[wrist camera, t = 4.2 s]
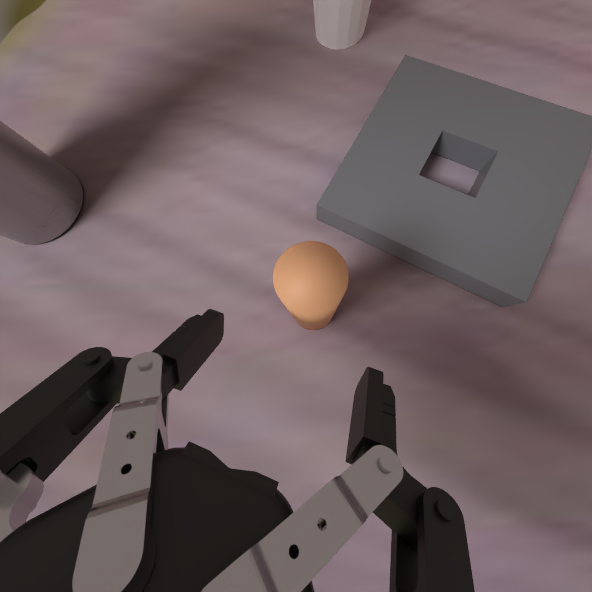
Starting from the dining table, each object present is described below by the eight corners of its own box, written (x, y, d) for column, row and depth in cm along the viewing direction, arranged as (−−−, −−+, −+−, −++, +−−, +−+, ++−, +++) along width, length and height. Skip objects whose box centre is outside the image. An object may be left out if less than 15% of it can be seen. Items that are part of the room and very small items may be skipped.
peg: (286, 317, 23) (259, 291, 12) (305, 283, 23) (296, 229, 13) (321, 337, 22) (325, 328, 11) (340, 302, 23) (361, 261, 12)
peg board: (316, 219, 25) (316, 204, 22) (397, 81, 27) (405, 55, 25) (502, 307, 22) (526, 302, 19) (574, 143, 24) (603, 120, 22)
